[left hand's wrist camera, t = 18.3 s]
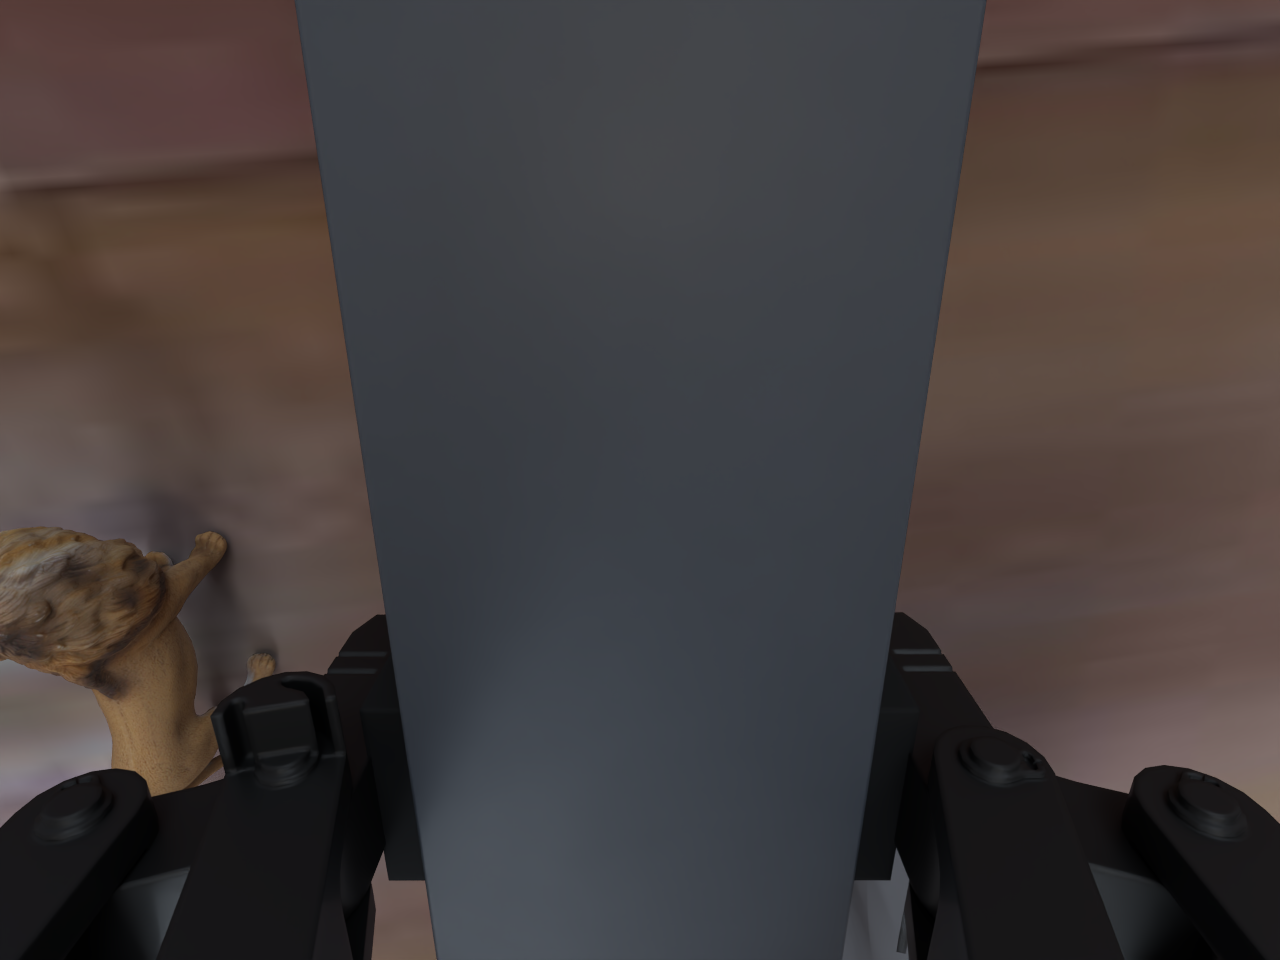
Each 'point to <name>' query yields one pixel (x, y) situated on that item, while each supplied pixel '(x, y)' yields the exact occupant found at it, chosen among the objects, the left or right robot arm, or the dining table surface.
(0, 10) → the dining table surface
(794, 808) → the post
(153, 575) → the lion figurine
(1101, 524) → the dining table surface
